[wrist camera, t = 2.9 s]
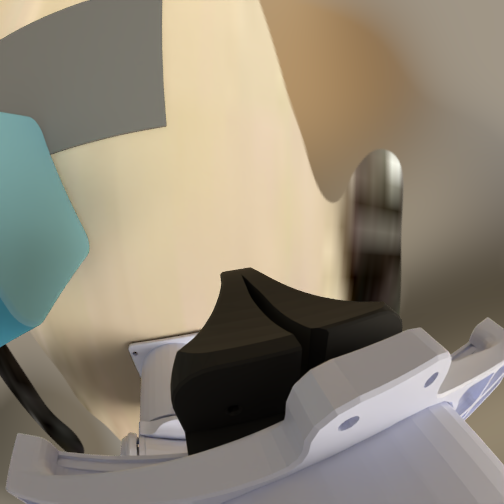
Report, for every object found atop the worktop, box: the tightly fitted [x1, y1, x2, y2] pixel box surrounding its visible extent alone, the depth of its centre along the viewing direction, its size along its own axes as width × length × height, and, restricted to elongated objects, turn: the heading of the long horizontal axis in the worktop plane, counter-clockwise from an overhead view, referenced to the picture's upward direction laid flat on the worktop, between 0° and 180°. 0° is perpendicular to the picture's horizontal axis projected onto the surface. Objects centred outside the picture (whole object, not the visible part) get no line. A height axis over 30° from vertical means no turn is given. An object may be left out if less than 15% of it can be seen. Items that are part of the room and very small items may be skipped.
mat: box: [0, 0, 166, 155], centre depth 13 cm, size 14×22×1 cm, turn 95°
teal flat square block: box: [0, 112, 89, 347], centre depth 11 cm, size 12×4×12 cm, turn 21°
